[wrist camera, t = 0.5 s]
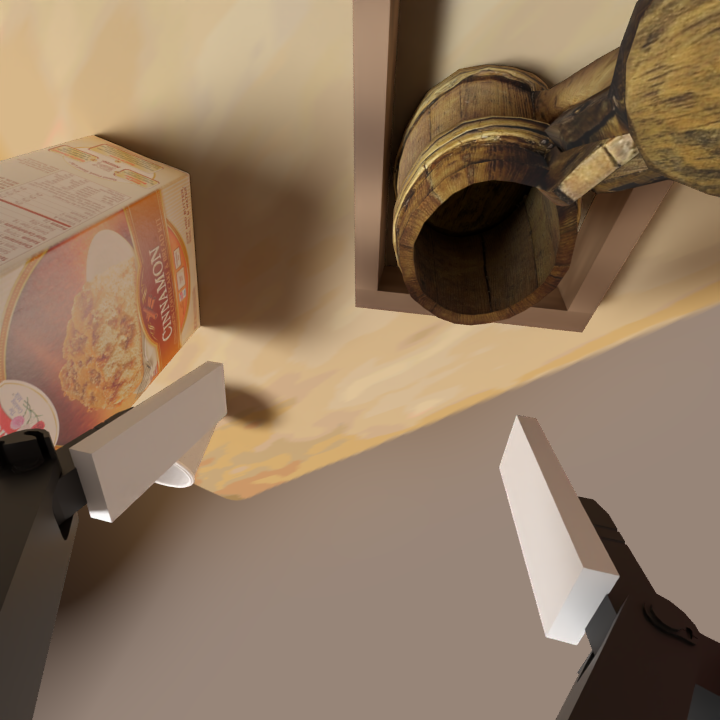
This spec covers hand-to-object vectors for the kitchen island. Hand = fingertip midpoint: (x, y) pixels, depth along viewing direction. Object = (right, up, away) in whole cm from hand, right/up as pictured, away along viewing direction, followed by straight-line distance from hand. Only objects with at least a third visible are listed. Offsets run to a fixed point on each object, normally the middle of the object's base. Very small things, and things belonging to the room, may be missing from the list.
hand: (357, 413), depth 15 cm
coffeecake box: (-17, +12, +13) cm, 24 cm away
